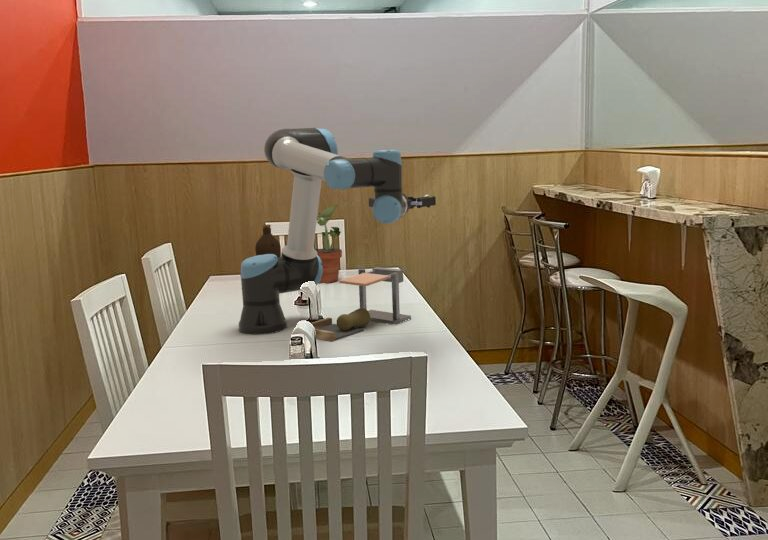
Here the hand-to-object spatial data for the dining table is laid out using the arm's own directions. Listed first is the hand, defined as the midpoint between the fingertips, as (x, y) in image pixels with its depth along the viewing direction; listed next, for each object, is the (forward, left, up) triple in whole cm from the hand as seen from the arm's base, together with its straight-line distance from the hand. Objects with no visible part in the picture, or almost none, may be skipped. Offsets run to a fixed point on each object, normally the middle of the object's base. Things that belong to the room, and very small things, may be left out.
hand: (405, 199), depth 231 cm
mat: (-15, -19, -40) cm, 47 cm away
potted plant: (-77, +44, -40) cm, 98 cm away
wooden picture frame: (-15, -20, -40) cm, 47 cm away
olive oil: (-95, +28, -40) cm, 107 cm away
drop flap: (-13, -2, -28) cm, 31 cm away
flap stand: (-13, +3, -40) cm, 42 cm away
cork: (-12, -8, -37) cm, 40 cm away
